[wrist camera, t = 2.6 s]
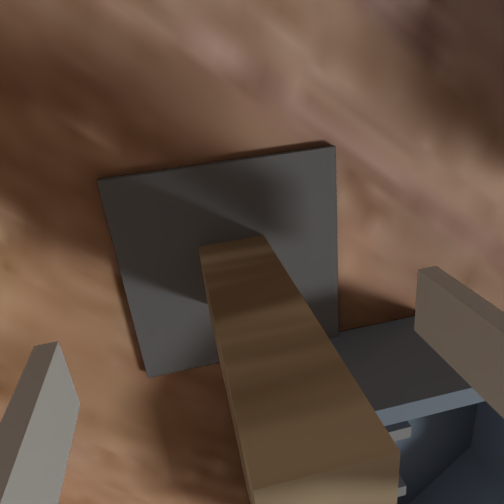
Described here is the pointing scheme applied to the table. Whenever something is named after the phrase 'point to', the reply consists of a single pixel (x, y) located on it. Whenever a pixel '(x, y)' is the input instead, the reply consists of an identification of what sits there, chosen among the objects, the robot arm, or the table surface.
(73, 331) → the table surface
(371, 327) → the bowl
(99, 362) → the table surface
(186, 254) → the mat
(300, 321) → the long wooden beam
